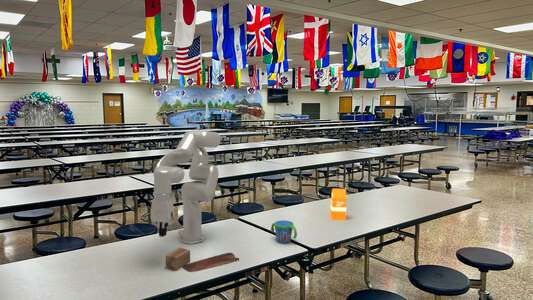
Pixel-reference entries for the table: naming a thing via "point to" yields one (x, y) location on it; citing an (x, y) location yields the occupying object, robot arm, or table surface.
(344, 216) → the orange juice
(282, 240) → the snack cup
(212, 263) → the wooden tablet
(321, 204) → the table surface
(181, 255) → the walnut block
